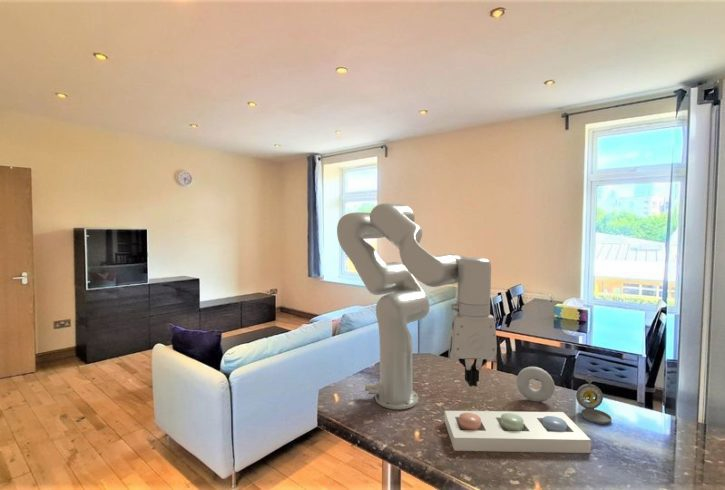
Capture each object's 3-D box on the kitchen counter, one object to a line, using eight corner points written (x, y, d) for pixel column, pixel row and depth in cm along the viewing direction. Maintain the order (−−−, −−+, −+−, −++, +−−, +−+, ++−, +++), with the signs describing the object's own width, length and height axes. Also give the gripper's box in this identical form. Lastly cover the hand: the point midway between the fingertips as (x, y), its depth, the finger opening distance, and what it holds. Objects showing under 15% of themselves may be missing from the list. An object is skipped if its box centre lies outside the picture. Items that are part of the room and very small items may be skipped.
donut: (554, 401, 103) (554, 367, 102) (554, 407, 100) (555, 372, 99) (516, 395, 107) (516, 362, 107) (515, 400, 104) (516, 366, 104)
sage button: (505, 432, 84) (505, 423, 84) (498, 420, 89) (498, 412, 89) (526, 432, 84) (526, 424, 83) (518, 421, 89) (518, 413, 88)
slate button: (548, 435, 83) (548, 427, 83) (539, 423, 88) (539, 415, 88) (570, 435, 83) (570, 427, 83) (560, 424, 88) (560, 416, 88)
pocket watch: (602, 428, 89) (602, 388, 89) (569, 412, 97) (569, 376, 96) (620, 419, 93) (621, 381, 93) (587, 405, 101) (587, 370, 100)
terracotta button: (461, 431, 84) (461, 423, 84) (457, 420, 89) (457, 412, 89) (483, 432, 84) (483, 423, 84) (477, 420, 89) (477, 412, 89)
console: (454, 450, 81) (454, 437, 81) (444, 421, 93) (444, 410, 93) (590, 453, 80) (590, 439, 79) (563, 423, 92) (563, 412, 91)
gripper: (445, 313, 82) (443, 390, 83) (511, 313, 81) (508, 391, 83) (439, 305, 89) (437, 376, 91) (499, 306, 89) (497, 377, 90)
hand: (471, 383), depth 87 cm, fingers closed
